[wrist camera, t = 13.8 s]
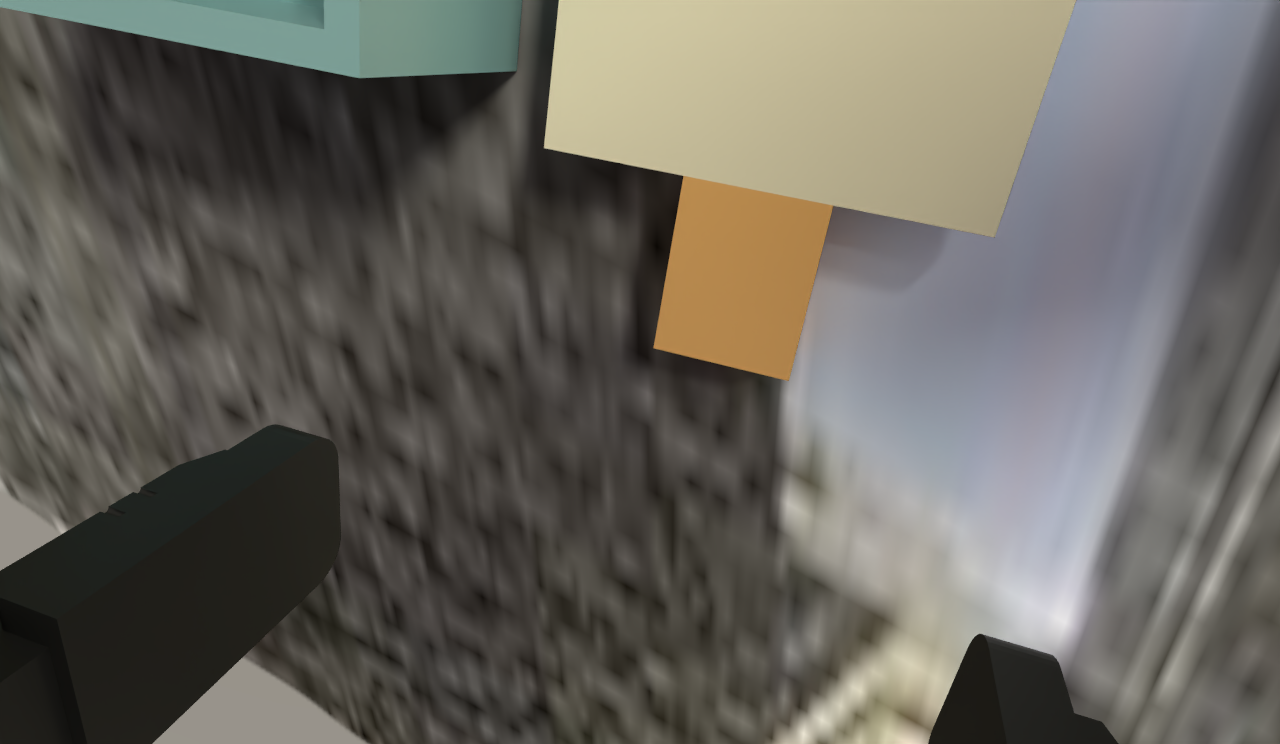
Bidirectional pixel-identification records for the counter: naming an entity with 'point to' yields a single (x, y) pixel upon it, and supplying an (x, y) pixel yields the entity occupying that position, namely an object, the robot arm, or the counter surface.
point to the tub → (321, 31)
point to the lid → (797, 135)
